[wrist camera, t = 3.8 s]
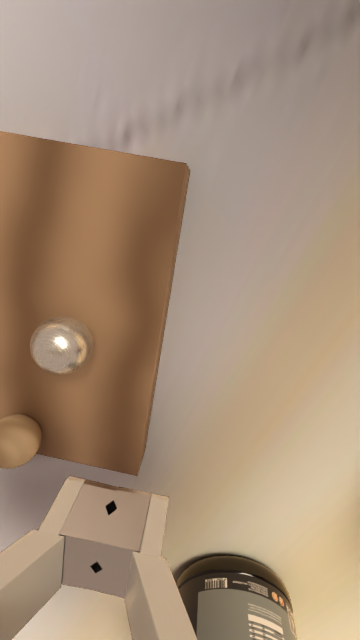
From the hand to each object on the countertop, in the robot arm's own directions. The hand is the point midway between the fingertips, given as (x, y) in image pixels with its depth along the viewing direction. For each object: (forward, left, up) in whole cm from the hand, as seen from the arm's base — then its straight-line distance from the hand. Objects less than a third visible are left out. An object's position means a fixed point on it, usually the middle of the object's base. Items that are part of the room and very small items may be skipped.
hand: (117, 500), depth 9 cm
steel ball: (+6, 0, -8) cm, 10 cm away
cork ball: (+9, +7, -8) cm, 14 cm away
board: (+13, 0, -12) cm, 17 cm away
